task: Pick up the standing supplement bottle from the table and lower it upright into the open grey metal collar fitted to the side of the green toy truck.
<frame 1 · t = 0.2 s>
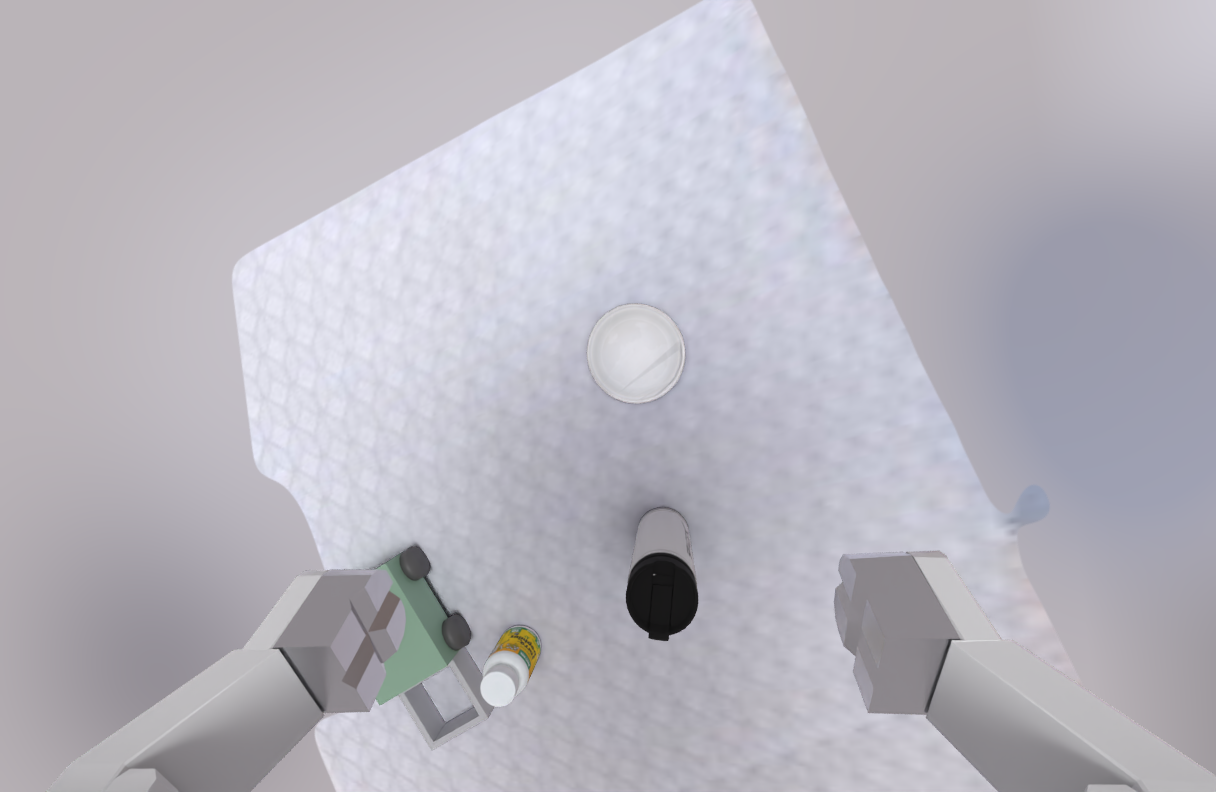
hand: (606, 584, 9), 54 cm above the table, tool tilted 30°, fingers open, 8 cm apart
travel mug: (663, 532, 63), on the table
green toy truck: (407, 612, 67), on the table
ramekin: (638, 355, 63), on the table
supplement bottle: (522, 643, 66), on the table
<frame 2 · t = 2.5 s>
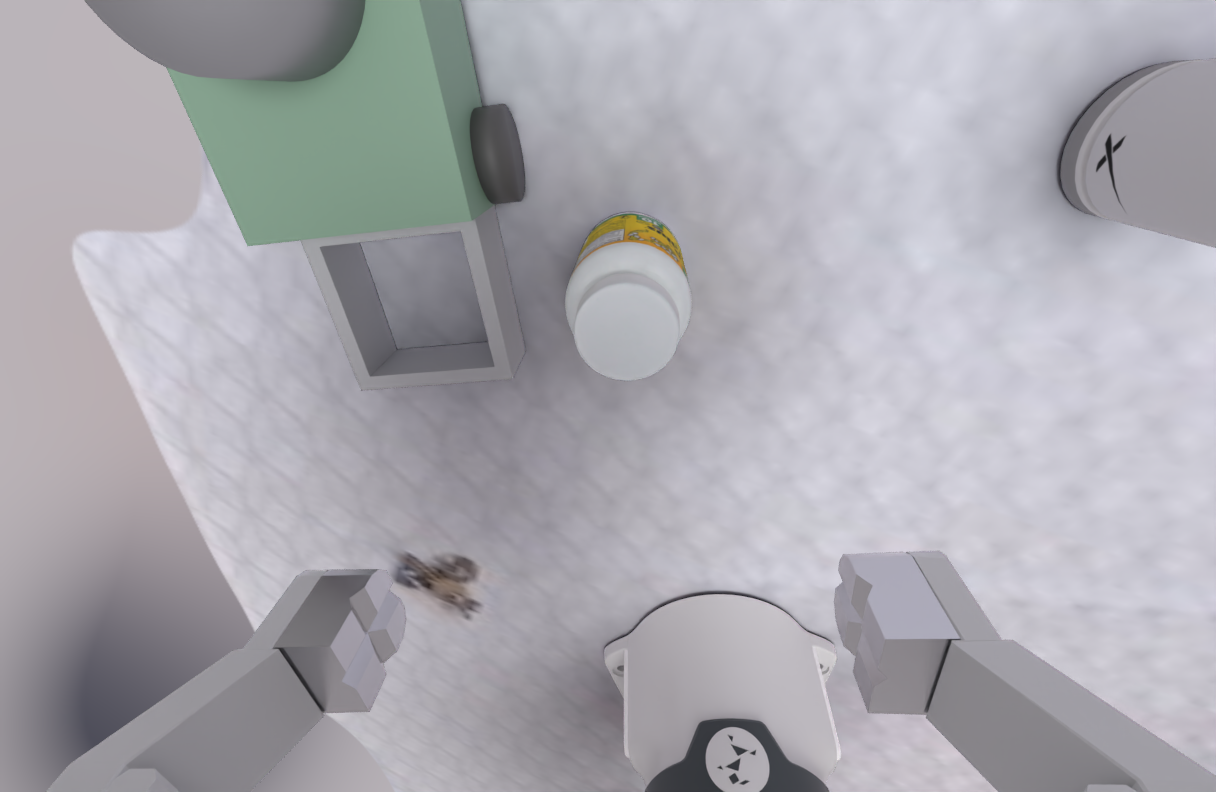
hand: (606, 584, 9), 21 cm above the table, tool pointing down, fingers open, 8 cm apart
travel mug: (1127, 147, 24), on the table
green toy truck: (366, 45, 23), on the table
supplement bottle: (631, 261, 28), on the table
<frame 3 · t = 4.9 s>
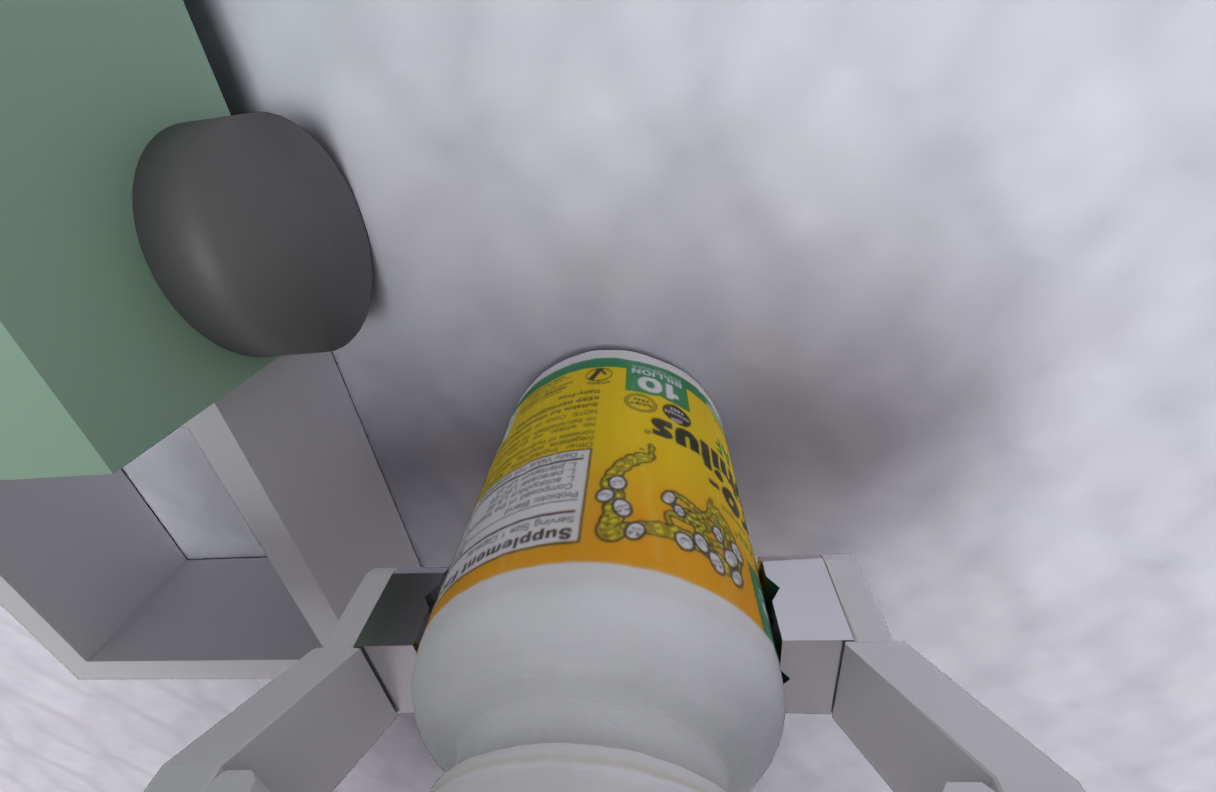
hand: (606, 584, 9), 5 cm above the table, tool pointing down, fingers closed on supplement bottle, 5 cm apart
supplement bottle: (618, 433, 13), on the table, touching gripper
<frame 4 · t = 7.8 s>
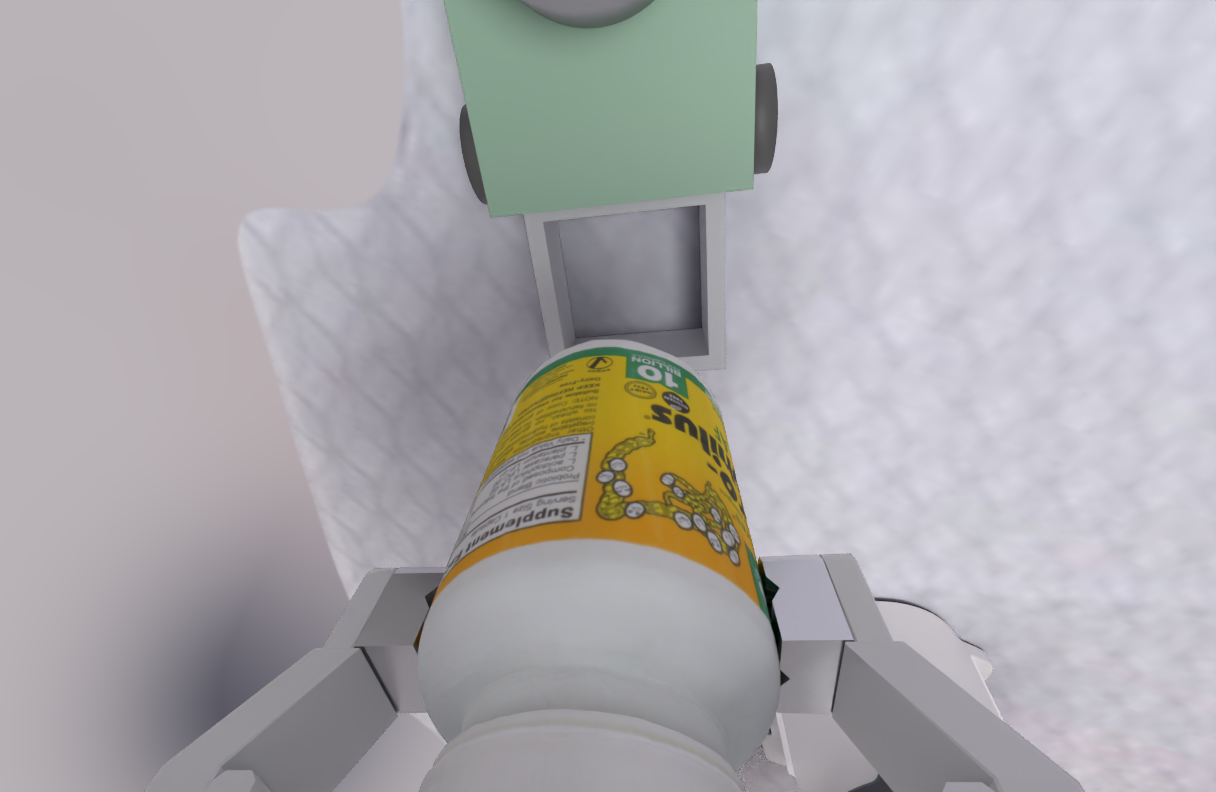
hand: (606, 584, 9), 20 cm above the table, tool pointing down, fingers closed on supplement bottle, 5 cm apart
green toy truck: (607, 1, 21), on the table
supplement bottle: (618, 423, 14), point 15 cm above the table, touching gripper
when the fingers open (6 cm above the table, at t = 10.8 s): supplement bottle stays where it is, resting in green toy truck.
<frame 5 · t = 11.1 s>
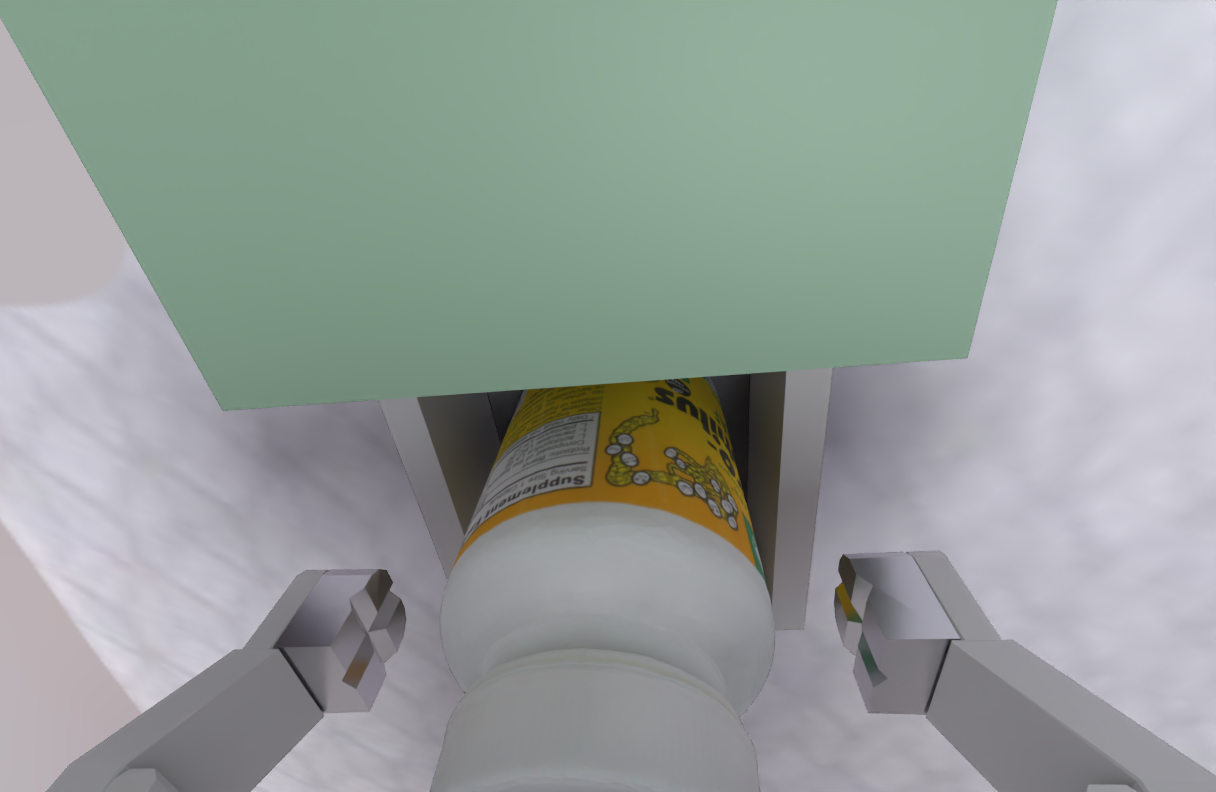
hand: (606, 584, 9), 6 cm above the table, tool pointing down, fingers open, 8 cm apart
supplement bottle: (622, 410, 14), resting in green toy truck
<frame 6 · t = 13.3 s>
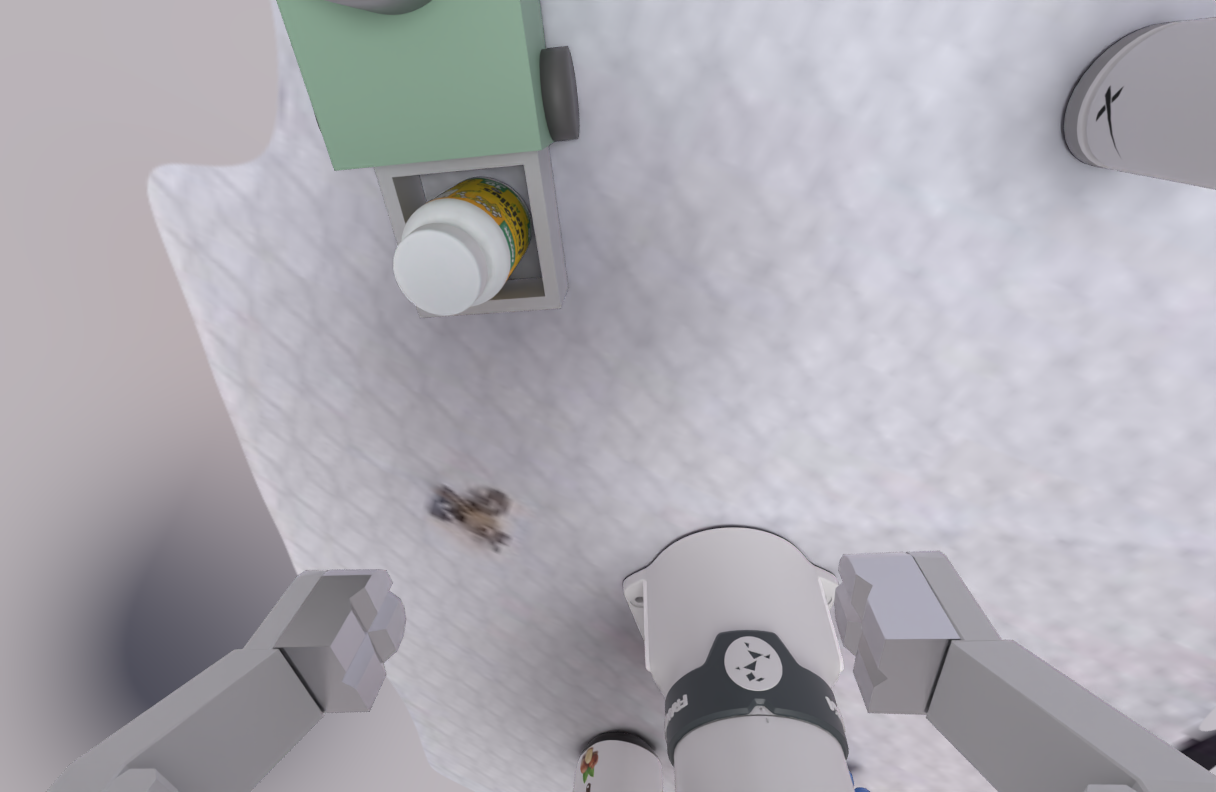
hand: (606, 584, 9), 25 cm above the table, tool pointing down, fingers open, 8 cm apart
travel mug: (1124, 102, 26), on the table
supplement bottle: (491, 222, 31), resting in green toy truck
spread jar: (623, 752, 64), on the table
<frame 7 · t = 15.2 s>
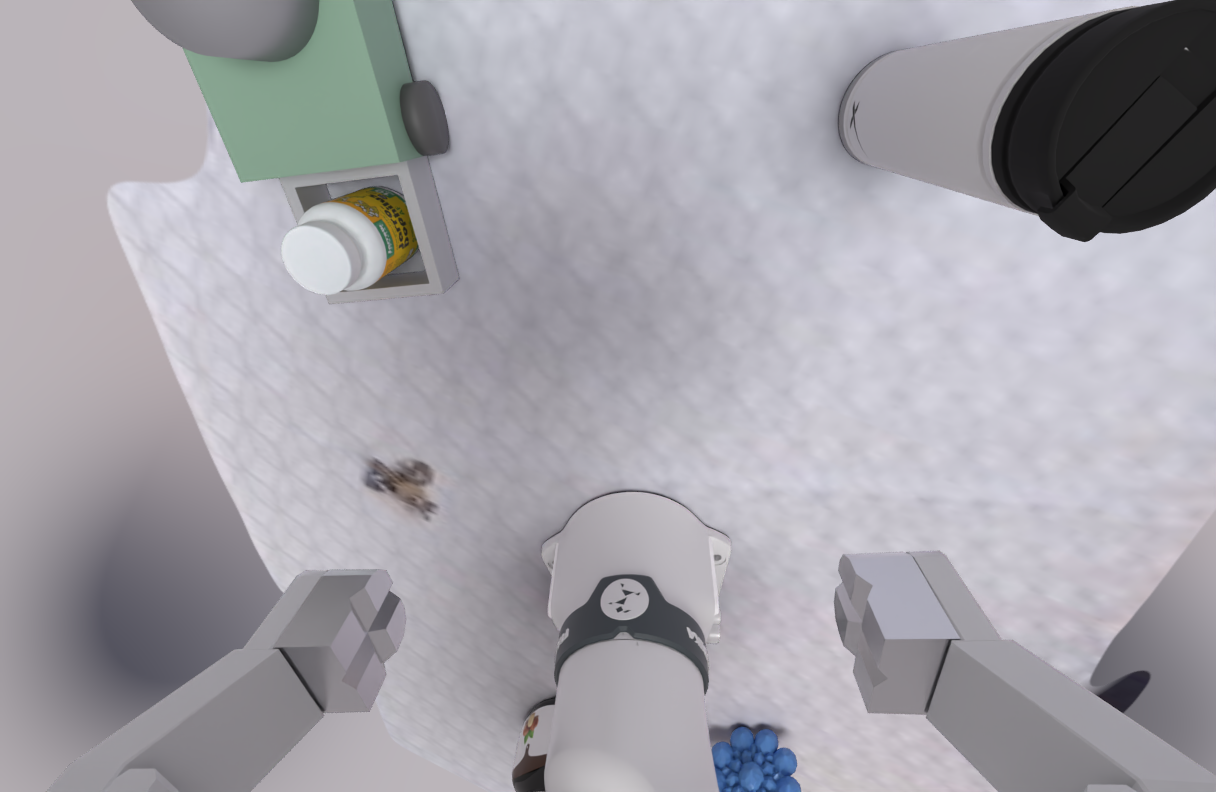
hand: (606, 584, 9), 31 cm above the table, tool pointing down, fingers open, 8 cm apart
travel mug: (886, 113, 32), on the table
green toy truck: (328, 38, 32), on the table
grapes: (742, 729, 67), on the table
supplement bottle: (389, 224, 38), resting in green toy truck
spread jar: (566, 720, 69), on the table
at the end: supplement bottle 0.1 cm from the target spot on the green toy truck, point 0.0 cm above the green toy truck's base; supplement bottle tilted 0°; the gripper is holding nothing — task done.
